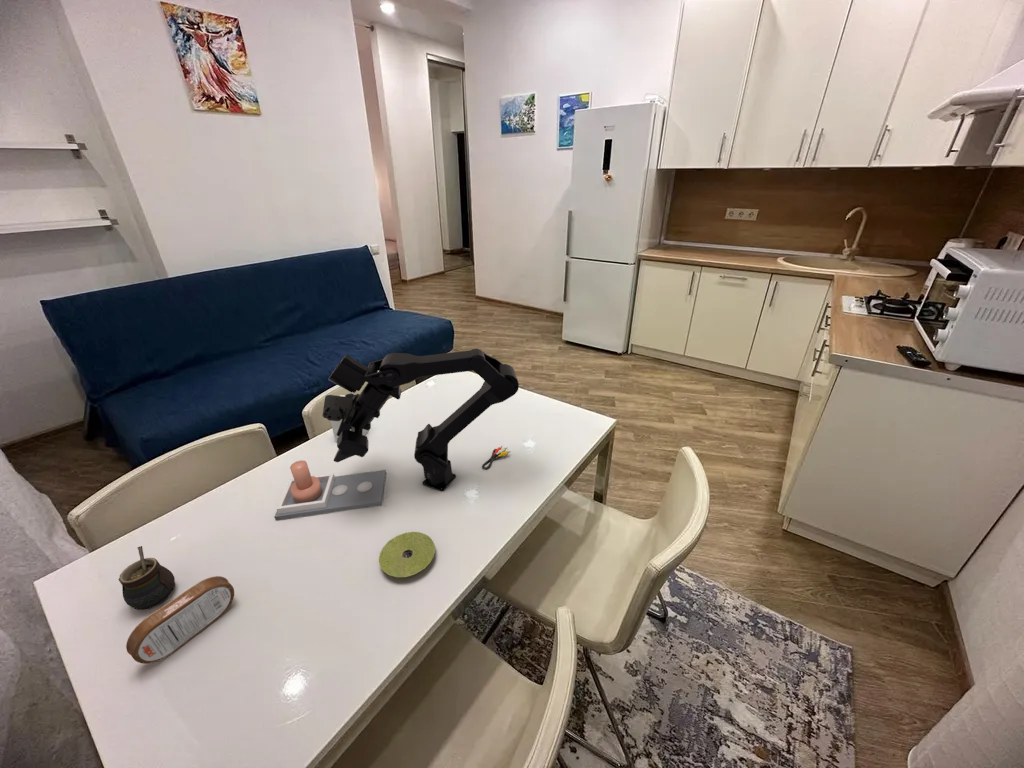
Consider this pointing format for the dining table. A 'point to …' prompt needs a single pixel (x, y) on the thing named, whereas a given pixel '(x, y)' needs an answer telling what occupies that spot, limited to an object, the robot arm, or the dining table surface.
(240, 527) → the dining table surface
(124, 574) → the mate gourd
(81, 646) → the dining table surface
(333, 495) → the station board
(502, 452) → the composite cable
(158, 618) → the tin
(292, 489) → the pink flanged peg
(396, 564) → the green disc
